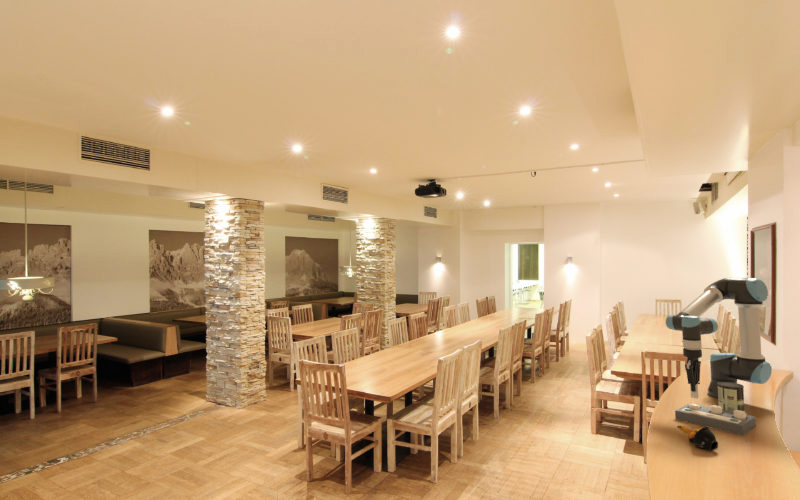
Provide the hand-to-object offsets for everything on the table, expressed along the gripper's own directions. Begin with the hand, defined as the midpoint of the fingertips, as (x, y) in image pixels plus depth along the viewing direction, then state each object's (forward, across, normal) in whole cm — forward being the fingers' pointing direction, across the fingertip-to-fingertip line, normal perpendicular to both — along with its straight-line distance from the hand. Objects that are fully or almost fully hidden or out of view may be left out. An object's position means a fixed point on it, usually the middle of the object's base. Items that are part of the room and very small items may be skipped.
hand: (694, 397), depth 213 cm
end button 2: (+7, +1, +18) cm, 19 cm away
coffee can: (+9, -16, +10) cm, 21 cm away
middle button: (+7, +1, +9) cm, 11 cm away
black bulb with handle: (+8, +36, +13) cm, 39 cm away
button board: (+9, +3, +9) cm, 13 cm away
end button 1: (+8, +1, 0) cm, 8 cm away
